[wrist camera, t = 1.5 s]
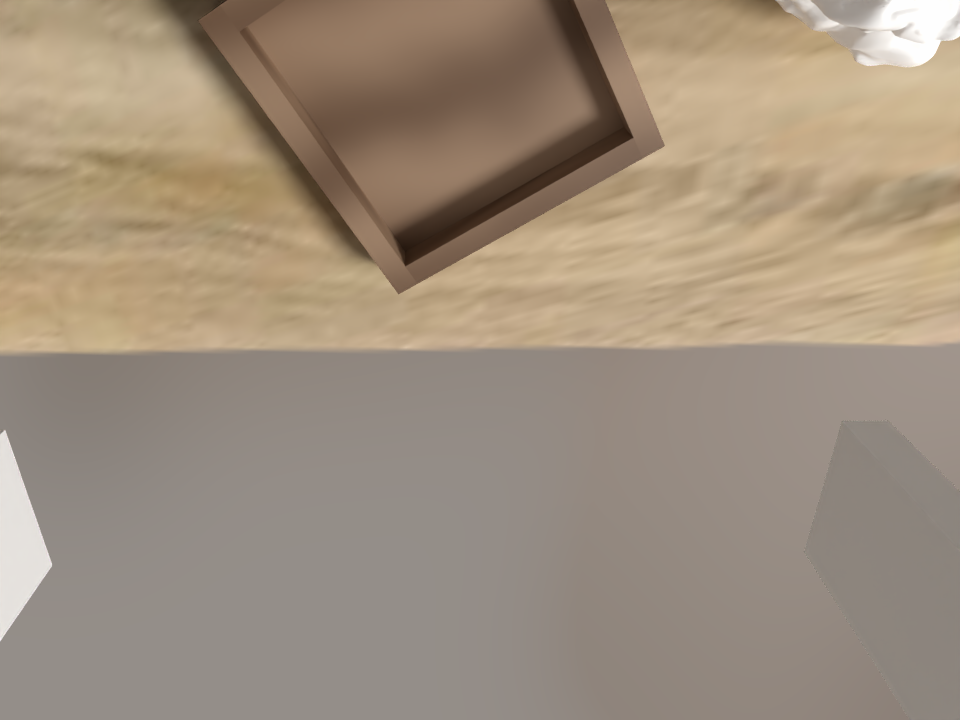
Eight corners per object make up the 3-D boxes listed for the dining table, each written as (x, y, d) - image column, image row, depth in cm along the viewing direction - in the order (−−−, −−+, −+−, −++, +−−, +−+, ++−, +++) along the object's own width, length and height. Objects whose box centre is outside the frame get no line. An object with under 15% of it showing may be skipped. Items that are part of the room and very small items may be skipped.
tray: (212, 9, 27) (197, 20, 25) (510, -199, 25) (520, -205, 23) (398, 269, 34) (398, 294, 32) (647, 128, 32) (664, 145, 30)
